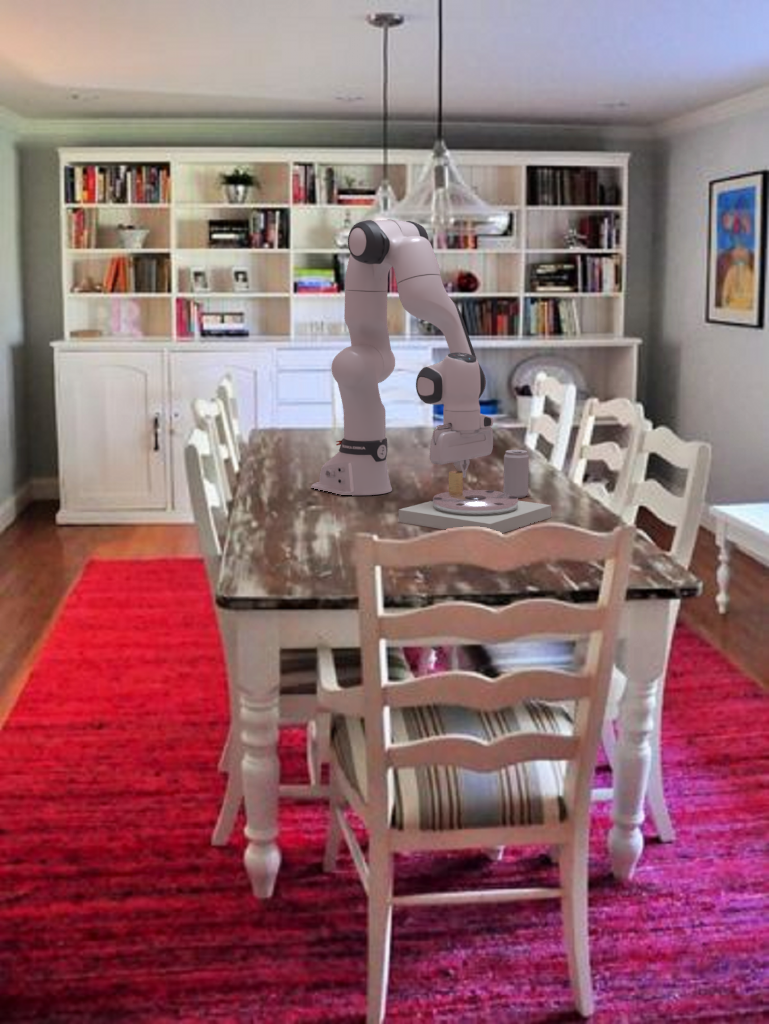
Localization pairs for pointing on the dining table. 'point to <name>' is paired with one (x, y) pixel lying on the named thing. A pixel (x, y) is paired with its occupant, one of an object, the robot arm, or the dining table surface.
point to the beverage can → (516, 472)
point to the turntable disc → (473, 499)
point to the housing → (475, 517)
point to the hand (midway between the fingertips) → (461, 478)
